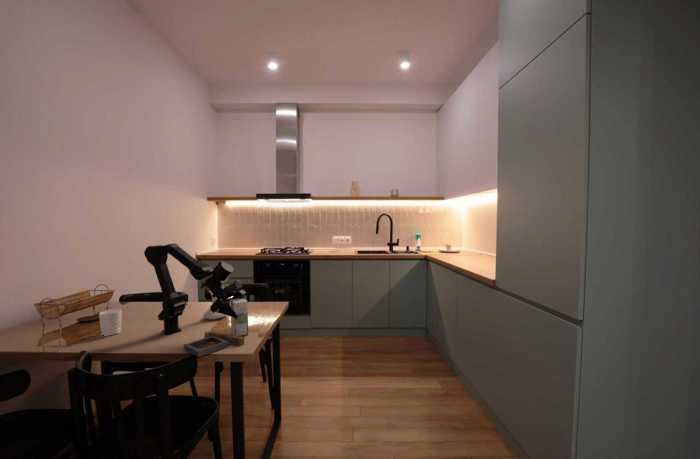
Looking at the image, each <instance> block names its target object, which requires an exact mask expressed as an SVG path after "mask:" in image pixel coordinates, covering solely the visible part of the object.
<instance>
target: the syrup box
mask: <svg viewBox="0 0 700 459" xmlns="http://www.w3.org/2000/svg"><path fill="white" fill-rule="evenodd" d="M248 304H249V303H248V300H247V299H246V298H244V299H238V300H232V301H230V307H231V308H232V309H233V310H234V312H235V313H236V314H237V316H238V317H237V318H233V317H230V330H231V332H230V333H231V335H233V336H239V337H243V336H246V335H249V313H248V312H249V308H248V307H249V306H248Z"/></svg>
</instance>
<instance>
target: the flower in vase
mask: <svg viewBox="0 0 700 459" xmlns="http://www.w3.org/2000/svg"><path fill="white" fill-rule="evenodd" d="M229 278H230V276H229V277H228V278H227V279H226V280H225V281H221V282H222V283H223V284H224V285H226V284H227V283H226V282H227V281H228V280H229ZM208 292H209V293H210V296H211V301H212V304H213V303H214V302H215V300H216V299H217V298H216V297H214V298H213V297H212V295H213V293H212V292H211V291H210V290H208ZM212 304H211V305H212ZM225 316H227V315H225V314H221V313H217V312H215V313H213V312H212V311H211V310H210V307H209V308H208V309H207V310H206V311H204V313H203V315H202V318H204V319H205V320H218V319H222V318H224V317H225Z"/></svg>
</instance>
